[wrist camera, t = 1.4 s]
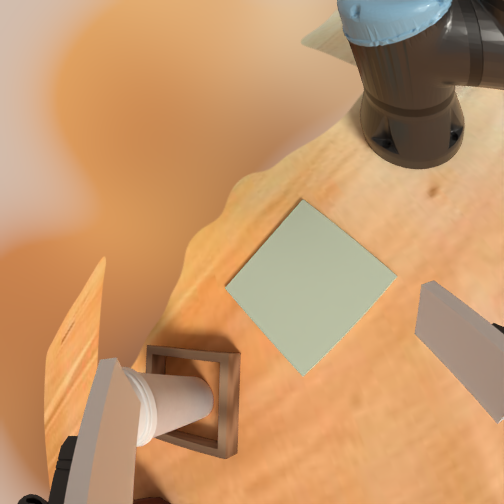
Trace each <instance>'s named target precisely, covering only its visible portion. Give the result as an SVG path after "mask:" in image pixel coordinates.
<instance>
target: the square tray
mask: <svg viewBox="0 0 504 504" xmlns="http://www.w3.org/2000/svg"><path fill="white" fill-rule="evenodd" d="M240 354H241V353H228V352H215V351H203V350H192V349H182V348H173V347H165V346H153V345H147V356H146V373H149V374H161V375H165V358H166V356H171V357H178V358H186V359H194V360H203V361H212V362H220V381H219V416H218V441H215V440H210V439H206V438H202V437H199V436H195V435H191V434H188V433H184V432H181V431H177V430H172V431H170V432H167V433H165V434H162V435H159V436H157V437H154V438H157V439H160V440H163V441H165V442H168V443H171V444H174V445H177V446H181V447H184V448H187V449H190V450H194V451H197V452H200V453H204V454H207V455H211V456H215V457H219V458H223V459H227V458H229V457H231V456H233V455H235V454H237V443H238V412H239V382H240Z"/></svg>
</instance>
